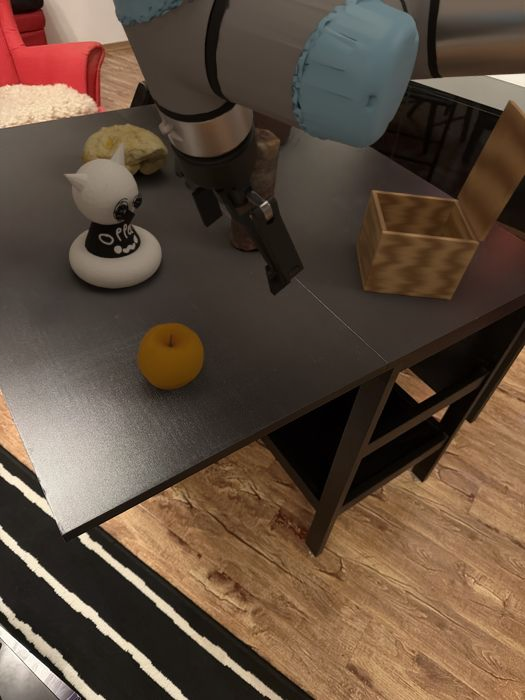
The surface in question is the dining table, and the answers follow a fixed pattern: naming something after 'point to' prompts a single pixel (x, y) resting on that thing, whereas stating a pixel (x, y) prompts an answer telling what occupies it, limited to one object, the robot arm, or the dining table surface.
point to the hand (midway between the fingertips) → (245, 252)
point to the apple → (170, 355)
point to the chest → (414, 245)
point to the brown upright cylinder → (259, 182)
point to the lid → (495, 172)
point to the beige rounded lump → (127, 147)
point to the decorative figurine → (111, 226)
